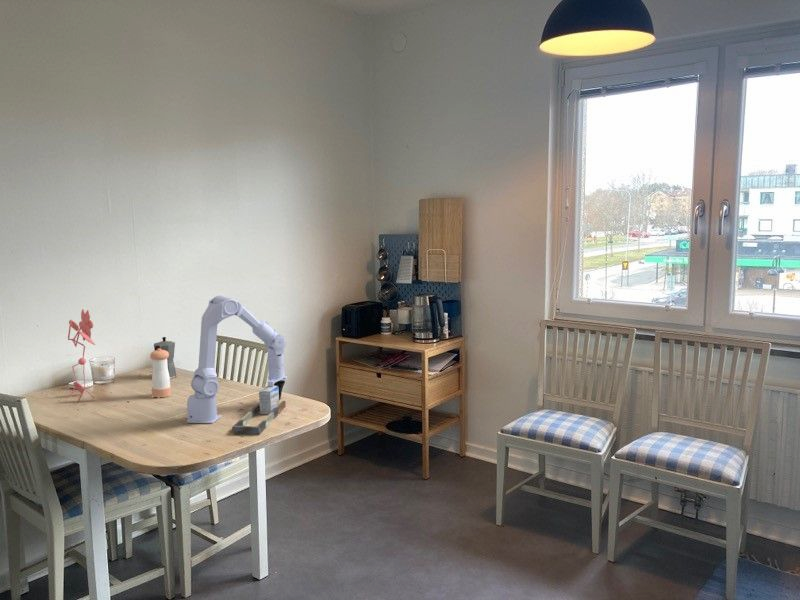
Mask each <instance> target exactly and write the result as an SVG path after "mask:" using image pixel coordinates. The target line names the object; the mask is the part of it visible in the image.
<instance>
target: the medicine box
mask: <svg viewBox="0 0 800 600" xmlns="http://www.w3.org/2000/svg"><path fill="white" fill-rule="evenodd" d="M258 400H259V402H260V412H259V414H260V415H269V414H270V413H271V412H272V411H273V410H274V409H275V408H276V407H277V406H278V405H279V404H280V400H279V388H278V386H273V387H268V385H267V386H265V387H264V388H262V389H260V390H259V391H258ZM259 402H258V403H259Z"/></svg>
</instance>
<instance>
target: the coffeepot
mask: <svg viewBox="0 0 800 600" xmlns="http://www.w3.org/2000/svg"><path fill="white" fill-rule="evenodd" d="M161 339H162V341H158V342H155V343H154V344H153V349H154V350H153V351H155V350H157V349H158V348H160V349H161V350H165V351H167V352H168V353H169V357H168V358H167V365H168V372H169V376H170V377H173V376H176V374H177V371H176V366H175V362H174V358H175V347H176V342H175V341H172V340H171V341H170V340H166V339H167V337H166V336H163V337H161ZM176 377H177V376H176Z"/></svg>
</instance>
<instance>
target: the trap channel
mask: <svg viewBox="0 0 800 600" xmlns="http://www.w3.org/2000/svg"><path fill="white" fill-rule="evenodd" d="M285 407H286V400H282V401H281V402H279V405H278V406H277V407H276V408H275V409H274V410H273V411H272V412H271V413H270V414H267V416H266V417H265V418H264V419H263V420H261V422H260V423H259V424H258V425H257V426H253V425H252V426H251V425H249V426H248V425H247V424H248V423H249V422H251V420H252V419H253V418H255V417H256V416H257V415H258V414H260V402H258V403H257V404H256V405H255V406H254V407H253V408H251V410H249V411H248V412H247V413H246V414H245V415H244V416H242V418H240V419H239V420H238V421H237V422H236V423H235V424H234V425H232V435H244V436H245V435H250V436H251V435H253V436H260V435H261V434H262V433H263V432H264V431H265V429H266V428H268V426H270V424H271V423H272V422H273V421H274V420H276V418H277V417H278V416H279V415H280V414H281V413H282V412H283V411H282V410H283V409H284V408H285ZM286 408H287V407H286ZM286 408H285V409H286ZM285 409H284V410H285ZM281 411H282V412H281ZM280 412H281V413H280ZM279 413H280V414H279ZM278 414H279V415H278Z"/></svg>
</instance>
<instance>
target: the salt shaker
mask: <svg viewBox="0 0 800 600" xmlns="http://www.w3.org/2000/svg"><path fill="white" fill-rule="evenodd" d="M154 350H155V349H154ZM154 350H153V351H151V353H150V355H149V358H150V359H151V360H152V376H151V377H152V378H151V383H152V384H151V386H152V387H151V397H152V396H153V397H166V396H169V395H171V394H172V386H171V379H170V376H169V372H168V365H167V358H168V357H169V353H168V352H167V351H165V350H161V349H160V348H158V349H157V350H155V351H154ZM171 396H172V395H171ZM153 397H152V398H153ZM169 397H170V396H169ZM166 398H167V397H166Z"/></svg>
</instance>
